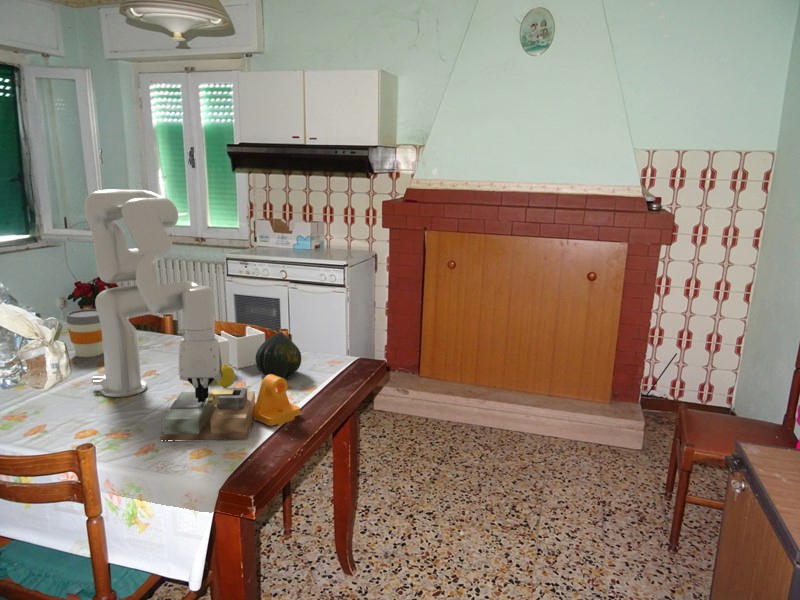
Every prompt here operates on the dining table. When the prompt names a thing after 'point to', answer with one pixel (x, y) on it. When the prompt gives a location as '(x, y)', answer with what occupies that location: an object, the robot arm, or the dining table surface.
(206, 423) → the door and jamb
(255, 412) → the bracket
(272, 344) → the squash
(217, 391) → the brass bolt
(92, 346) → the reusable coffee cup
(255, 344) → the storage container
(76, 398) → the dining table surface
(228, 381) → the lemon
